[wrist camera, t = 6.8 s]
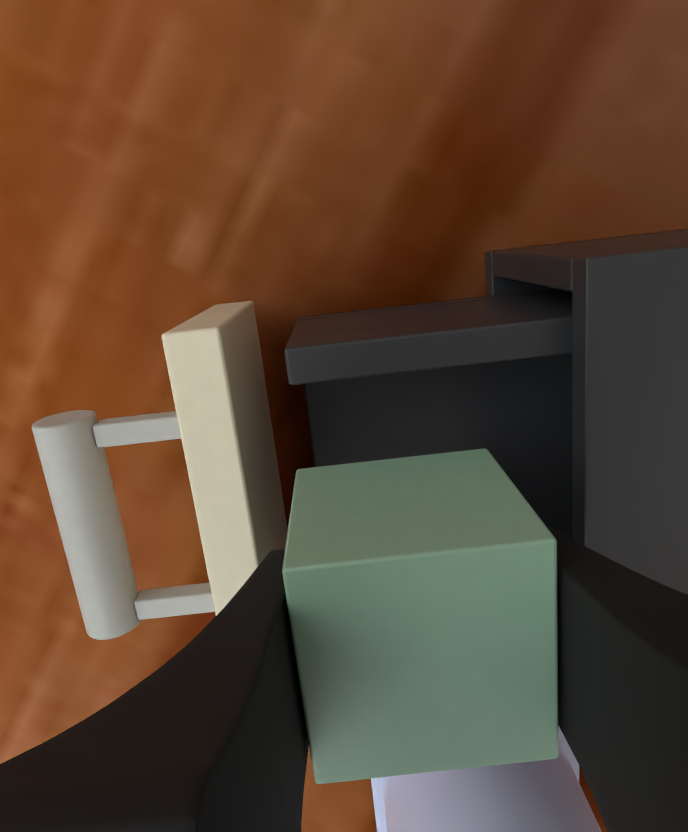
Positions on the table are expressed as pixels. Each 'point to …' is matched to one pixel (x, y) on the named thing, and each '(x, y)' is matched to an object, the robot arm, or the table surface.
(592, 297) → the small cabinet
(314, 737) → the block
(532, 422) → the drawer
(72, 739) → the robot arm
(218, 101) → the table surface
